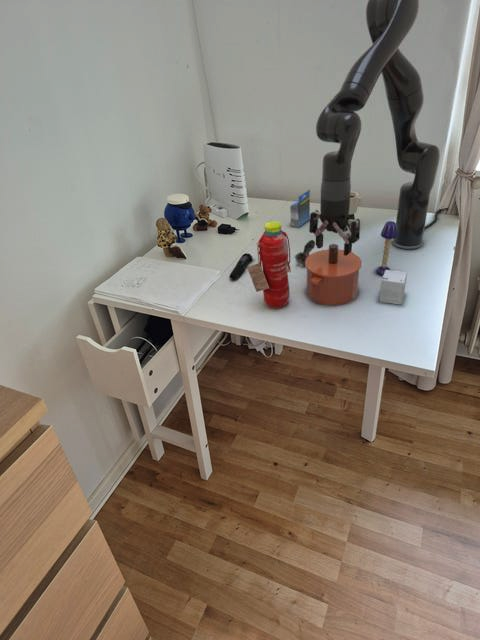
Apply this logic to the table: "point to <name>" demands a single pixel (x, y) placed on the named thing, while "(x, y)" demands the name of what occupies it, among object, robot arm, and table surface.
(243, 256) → the electric trimmer
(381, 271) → the purple tan pedestal column
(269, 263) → the water bottle
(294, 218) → the tape cartridge
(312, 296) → the pot
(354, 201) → the character mug
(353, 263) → the pot lid
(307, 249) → the eagle figurine
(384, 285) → the white cardboard box
